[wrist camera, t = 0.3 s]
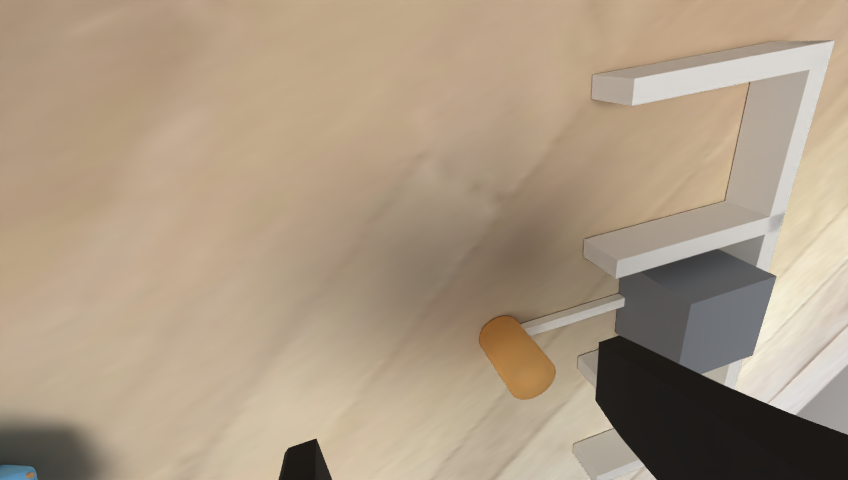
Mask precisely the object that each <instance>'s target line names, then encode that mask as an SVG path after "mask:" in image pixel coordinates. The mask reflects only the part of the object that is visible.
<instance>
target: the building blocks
mask: <svg viewBox="0 0 848 480" xmlns="http://www.w3.org/2000/svg"><path fill="white" fill-rule="evenodd" d="M0 480H37V474H36V471H35V469H34V468H33V467H31V466H20V465H0Z"/></svg>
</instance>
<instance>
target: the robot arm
mask: <svg viewBox="0 0 848 480" xmlns="http://www.w3.org/2000/svg"><path fill="white" fill-rule="evenodd" d="M595 400H596V402H597V403H598V405H599V406H600V408H601V409H602V411H603V412H604V414H605V415H606V417H607V418H608V420H609V421H610V423H611V424H612V426H613V427H614V428H615V430H616V431H617V433H618V434H619V436H620V437H621V438H622V439H623V441H624V442H625V443H626V444H627V445H628V447H629V448H630V449H631V450H632V451H633V452H634V454H635V455H636V456H637V457H638V458H639V460H640V461H641V462H642V463H643V464H644V465H645V467H646V468H647V469H648V470H649V471H650V472H651V474H652V475H653V476H654V477H655V478H656V479H657V480H848V435H847V434H844V433H841V432H839V431H836V430H833V429H830V428H828V427H825V426H822V425H819V424H816V423H814V422H811V421H808V420H806V419H803V418H800V417H798V416H796V415H793V414H790V413H788V412H785V411H783V410H781V409H778V408H776V407H773V406H771V405H769V404H766V403H764V402H762V401H759V400H757V399H754V398H752V397H750V396H747V395H745V394H743V393H741V392H738V391H736V390H734V389H732V388H729V387H727V386H725V385H723V384H721V383H718V382H716V381H714V380H712V379H710V378H708V377H706V376H703V375H701V374H699V373H697V372H695V371H693V370H691V369H689V368H687V367H684V366H682V365H680V364H678V363H676V362H674V361H672V360H670V359H668V358H666V357H664V356H662V355H660V354H658V353H656V352H654V351H652V350H649V349H647V348H645V347H643V346H641V345H639V344H637V343H635V342H633V341H631V340H628V339H626V338H624V337H622V336H617V337H614V338H611V339H608V340H605V341H602V342H599V350H598V366H597V382H596V398H595ZM279 480H332V478H331V476H330V473H329V470H328V468H327V465H326V462H325V460H324V457H323V455H322V452H321V449H320V447H319V444H318V442H317V439H313V440H311V441H308V442H305V443H302V444H299V445H296V446H293V447H290V448H288V450H287V451H286V452H285V455H284V459H283V464H282V468H281V472H280V476H279Z"/></svg>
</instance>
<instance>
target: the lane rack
mask: <svg viewBox="0 0 848 480" xmlns="http://www.w3.org/2000/svg"><path fill="white" fill-rule="evenodd" d="M834 42H835V41H774V42H769V43H763V44H758V45H752V46H747V47H741V48H736V49H730V50H725V51H720V52H714V53H709V54H703V55H698V56H692V57H687V58H682V59H676V60H671V61H665V62H660V63H654V64H649V65H644V66H638V67H633V68H627V69H622V70H616V71H611V72H606V73H600V74H595V75H593V77H592V96H591V99H594V100H600V101H606V102H612V103H618V104H624V105H630V106H634V105H639V104H644V103H649V102H653V101H658V100H663V99H668V98H673V97H678V96H683V95H688V94H692V93H697V92H702V91H707V90H712V89H717V88H722V87H727V86H731V85H736V84H741V83H746V82H750V86H749V91H748V96H747V100H746V105H745V110H744V114H743V119H742V124H741V128H740V133H739V138H738V142H737V147H736V152H735V156H734V161H733V166H732V170H731V175H730V180H729V184H728V189H727V194H726V198H725V201H723V202H719V203H716V204H712V205H708V206H705V207H701V208H697V209H694V210H690V211H686V212H683V213H679V214H675V215H671V216H668V217H664V218H660V219H657V220H653V221H649V222H646V223H642V224H638V225H635V226H631V227H627V228H624V229H620V230H616V231H613V232H609V233H605V234H602V235H598V236H594V237H591V238H587V239H584V251H583V256H584V257H585V258H587V259H588V260H590V261H591V262H592V263H594V264H595V265H597V266H598V267H599V268H601V269H602V270H604V271H605V272H606V273H608V274H609V275H611V276H612V277H613V278H615V279H617V278H621V277H624V276H627V275H631V274H634V273H637V272H641V271H644V270H647V269H651V268H654V267H657V266H661V265H664V264H667V263H671V262H674V261H678V260H681V259H684V258H688V257H691V256H694V255H698V254H701V253H704V252H708V251H711V250H714V249H719V250H721V251H724V252H726V253H728V254H730V255H732V256H734V257H736V258H739V259H741V260H743V261H745V262H747V263H749V264H751V265H753V266H756V267H758V268H760V269H762V270H764V271H766V272H768V270H769V267H770V263H771V260H772V256H773V253H774V250H775V246H776V243H777V239H778V236H779V232H780V229H781V225H782V222H783V218H784V215H785V211H786V208H787V205H788V201H789V198H790V194H791V191H792V187H793V184H794V180H795V177H796V173H797V170H798V167H799V163H800V160H801V156H802V153H803V149H804V146H805V142H806V139H807V135H808V132H809V128H810V125H811V122H812V118H813V115H814V111H815V108H816V104H817V101H818V97H819V94H820V90H821V87H822V84H823V80H824V77H825V73H826V70H827V66H828V63H829V59H830V56H831V52H832V49H833V45H834ZM742 360H743V359H741V360H738V361H736V362H733V363H730V364H727V365H725V366H722V367H719V368H717V369H714V370H711V371H709V372H706V373H703V374H701V375H703V376H706V377H708V378H710V379H712V380H714V381H716V382H718V383H721V384H723V385H725V386H727V387H729V388H732V389H734V388H735V384H736V381H737V377H738V374H739V371H740V367H741V364H742ZM597 366H598V350H596V351H593V352H590V353H587V354H584V355H581V356H578V368H577V369H578V370H579V371H580V372H581V373H582V374H583V375H584V377H585V378H586V379H587V380H588V381H589V382H590V383H591V384H592V385H593V387H594V388H595V389H596V382H597ZM573 454H574V455H575V457H576V458H577V460H578V461H579V463H580V464H581V465H582V467H583V468H584V470H585V471H586V473H587V474H588V476H589V477H590V478H591V480H612V479H615V478H617V477H620V476H622V475H625V474H627V473H629V472H632V471H634V470H637V469H639V468H642V467H644V466H645V465H644V464H643V463H642V462H641V461H640V460H639V458H638V457H637V456H636V455H635V454H634V452H633V451H632V450H631V449H630V448H629V447H628V445H627V444H626V443H625V442H624V441H623V439H622V438H621V437H620V436H619V434H618V433H617V431H616V430H615V428H614V429H612V430H609V431H606V432H604V433H601V434H598V435H596V436H593V437H591V438H588V439H585V440H583V441H580V442H577V443H575V444H574V445H573Z"/></svg>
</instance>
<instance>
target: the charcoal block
mask: <svg viewBox="0 0 848 480" xmlns="http://www.w3.org/2000/svg"><path fill="white" fill-rule="evenodd" d="M775 280H776V276H775V275H773V274H771V273H768V272H766V271H764V270H762V269H760V268H758V267H756V266H753V265H751V264H749V263H747V262H745V261H743V260H741V259H739V258H736V257H734V256H732V255H730V254H728V253H726V252H724V251H721V250H719V249H714V250H711V251H708V252H704V253H701V254H698V255H694V256H691V257H688V258H684V259H681V260H678V261H674V262H671V263H667V264H664V265H661V266H657V267H654V268H651V269H647V270H644V271H641V272H637V273H634V274H631V275H627V276H624V277H621V278H620V286H619V293H618V294H615V295H612V296H609V297H606V298H602V299H599V300H596V301H593V302H589V303H586V304H583V305H580V306H577V307H573V308H570V309H567V310H564V311H560V312H557V313H554V314H551V315H548V316H544V317H541V318H538V319H535V320H531V321H528V322H525V323H522V324H519V323H518V321H517V320H516V319H514V318H513V317H510V316H501V317H497V318H495V319H493V320H491V321H490V322H489V323H488V324H486V326H485V327H484V328H483V329H482V331H481V334H480V337H479V342H480V345H481V347H482V349H483V350H484V352H485V353H486V355H487V357H488V358H489V360H490V361H491V363H492V364H493V366H494V367H495V369H496V371H497V372H498V374H499V375H500V377H501V378H502V380H503V381H504V383H505V384H506V386H507V388H508V389H509V391H510V392H511V394H512V395H513V396H514V397H516V398H518V399H523V400H525V399H531V398H534V397H536V396H538V395H540V394H542V393H543V392H544V391H545V390H547V389H548V387H549V386H550V385H551V384H552V382H553V380H554V378H555V373H556V371H555V366H554V365H553V363H552V362H551V361H550V360H549V358H548V357H547V356H546V355H545V354H544V352H543V351H542V350H541V349H540V348H539V346H538V345H537V344H536V343H535V342H534V341H533V339H532V338H531V337H530V336H533V335H536V334H539V333H543V332H546V331H549V330H552V329H555V328H558V327H561V326H565V325H568V324H571V323H574V322H577V321H580V320H583V319H587V318H590V317H593V316H596V315H599V314H602V313H605V312H609V311H612V310H615V309H617V316H616V325H615V332H616V333H617V334H618V335H619V336H622V337H624V338H626V339H628V340H631V341H633V342H635V343H637V344H639V345H641V346H643V347H645V348H647V349H649V350H652V351H654V352H656V353H658V354H660V355H662V356H664V357H666V358H668V359H670V360H672V361H674V362H676V363H678V364H680V365H682V366H684V367H687V368H689V369H691V370H693V371H695V372H697V373H699V374H703V373H706V372H709V371H711V370H714V369H717V368H719V367H722V366H725V365H727V364H730V363H733V362H736V361H738V360H741V359H744V358H746V357H749V356H752V355H753V352H754V349H755V346H756V342H757V339H758V336H759V332H760V329H761V326H762V323H763V319H764V316H765V313H766V309H767V306H768V303H769V299H770V296H771V293H772V290H773V286H774V283H775Z"/></svg>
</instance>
